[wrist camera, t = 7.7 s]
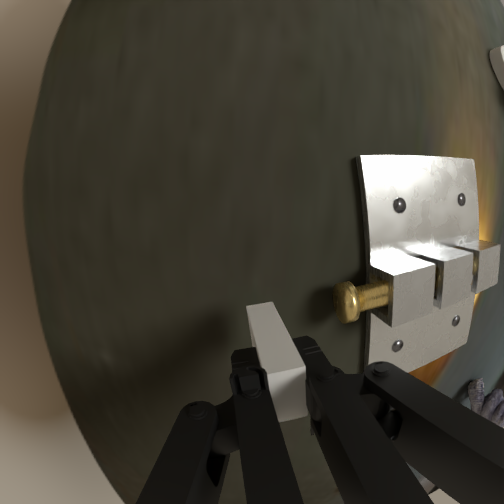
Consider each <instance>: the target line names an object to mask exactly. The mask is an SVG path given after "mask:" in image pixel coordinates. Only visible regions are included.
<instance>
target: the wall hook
mask: <svg viewBox="0 0 504 504" xmlns="http://www.w3.org/2000/svg"><path fill="white" fill-rule="evenodd" d="M490 61H491V64H492V67H493V70H494V72H495V74H496V77H497V79H498V81H499V83H500V85H501V86H502V88H503V90H504V46H500V47H497V48H495V49H492V50H490Z"/></svg>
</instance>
